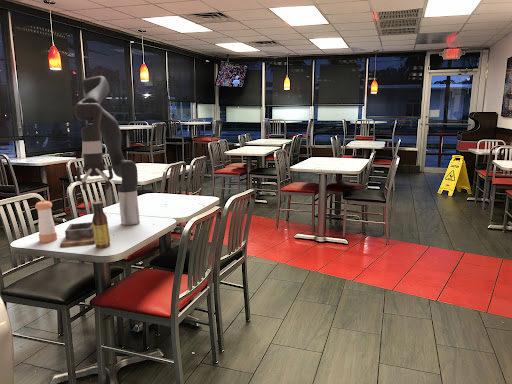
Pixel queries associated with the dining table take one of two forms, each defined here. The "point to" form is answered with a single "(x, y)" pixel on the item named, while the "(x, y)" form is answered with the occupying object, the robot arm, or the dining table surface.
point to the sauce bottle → (100, 226)
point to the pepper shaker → (46, 222)
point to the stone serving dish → (78, 235)
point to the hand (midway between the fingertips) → (96, 190)
